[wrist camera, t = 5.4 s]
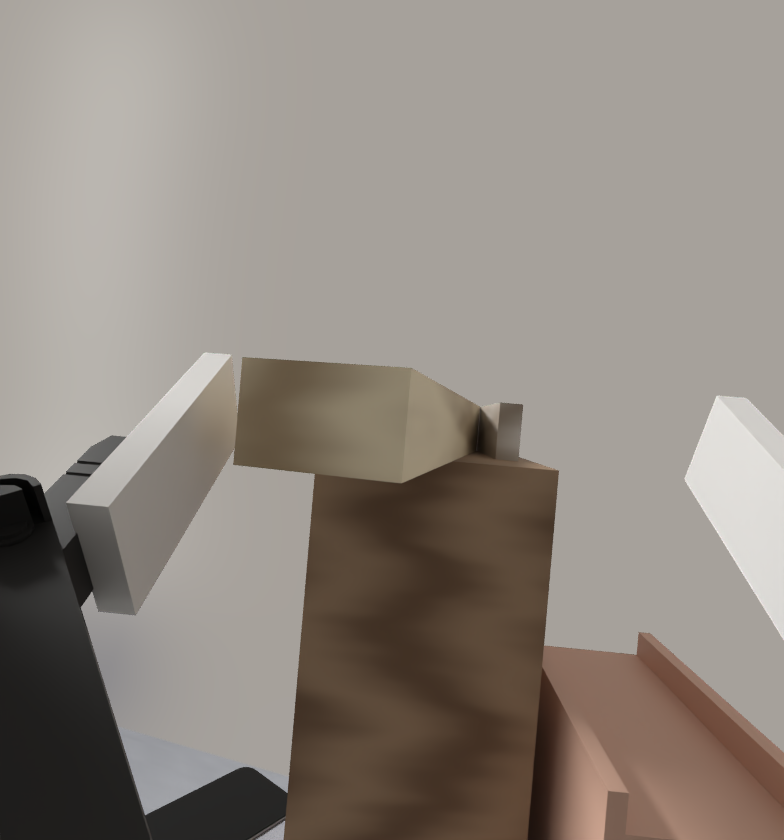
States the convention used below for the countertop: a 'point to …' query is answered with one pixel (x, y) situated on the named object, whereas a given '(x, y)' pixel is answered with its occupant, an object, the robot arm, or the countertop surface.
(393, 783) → the stand
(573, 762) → the pink rectangular box
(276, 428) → the slat
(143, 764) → the countertop surface
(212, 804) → the smartphone
